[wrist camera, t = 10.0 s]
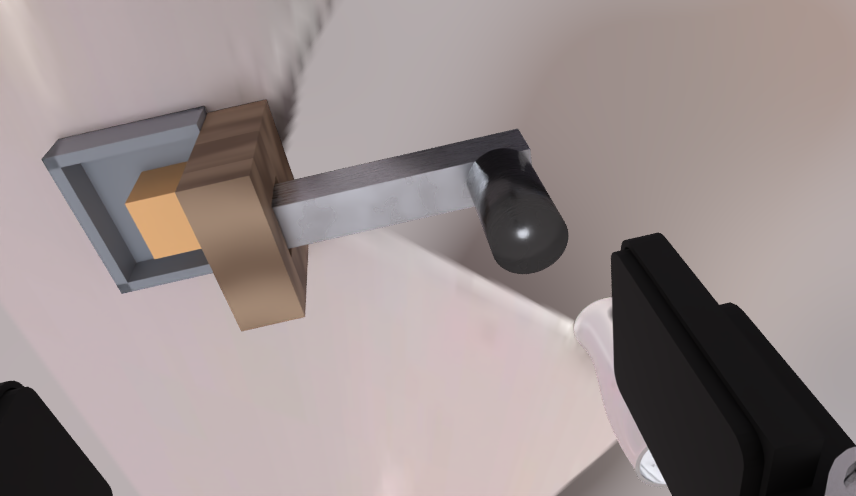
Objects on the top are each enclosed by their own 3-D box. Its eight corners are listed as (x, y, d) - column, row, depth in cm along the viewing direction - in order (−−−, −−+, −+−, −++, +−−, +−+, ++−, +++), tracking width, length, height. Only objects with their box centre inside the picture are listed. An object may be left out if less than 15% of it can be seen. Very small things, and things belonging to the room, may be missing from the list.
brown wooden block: (207, 112, 43) (174, 192, 34) (266, 99, 43) (249, 175, 34) (257, 235, 48) (241, 331, 39) (309, 223, 48) (304, 316, 39)
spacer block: (204, 157, 44) (141, 171, 44) (193, 188, 40) (124, 203, 40) (227, 211, 46) (168, 224, 46) (218, 244, 43) (154, 259, 43)
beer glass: (604, 360, 61) (674, 499, 48) (552, 332, 58) (612, 472, 45) (658, 312, 58) (747, 445, 46) (607, 279, 55) (686, 413, 43)
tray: (58, 139, 42) (41, 159, 40) (204, 106, 42) (196, 123, 40) (132, 269, 49) (121, 293, 46) (259, 240, 49) (255, 263, 46)
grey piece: (219, 189, 40) (190, 286, 32) (517, 121, 40) (565, 200, 32) (241, 241, 42) (220, 344, 34) (523, 176, 42) (570, 264, 34)
